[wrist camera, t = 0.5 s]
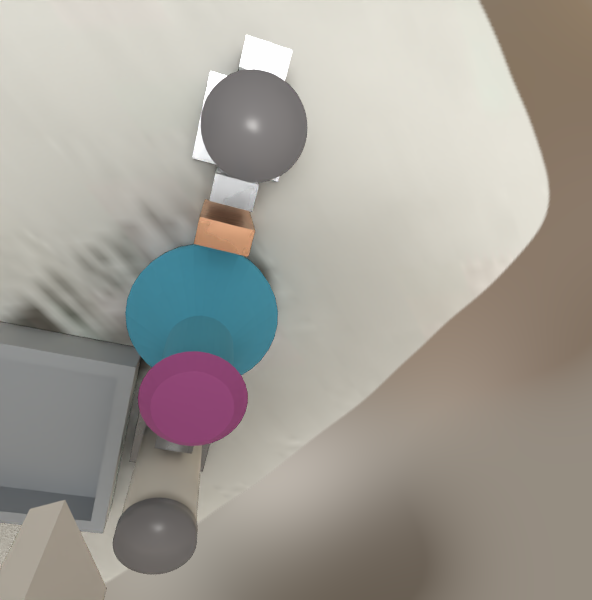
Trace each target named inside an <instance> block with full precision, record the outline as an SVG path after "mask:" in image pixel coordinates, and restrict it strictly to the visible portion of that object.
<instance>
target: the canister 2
mask: <svg viewBox="0 0 592 600" xmlns="http://www.w3.org/2000/svg"><path fill="white" fill-rule="evenodd" d="M200 128H201V135H202V140H203V143H204V146H205V148H206V150H207V152H208V154H209V156H210V157H211V159H212V160H213V162H214V163H215V164H216V165H217V166H218V167H219V168H220V169H221V170H222V171H224V172H225V173H227V174H228V175H230V176H232V177H234V178H236V179H239V180H242V181H246V182H264V181H269V180H272V179H275V178H277V177H279V176H281V175H282V174H284V173H285V172H287V171H288V170H289V169H290V168H291V167H292V166H293V165H294V164H295V162H296V161H297V160H298V158H299V156H300V155H301V153H302V150H303V148H304V145H305V141H306V137H307V119H306V113H305V110H304V107H303V104H302V102H301V100H300V98H299V96H298V95H297V93H296V92H295V91H294V89H293V88H292V87H291V86H290V85H289V84H288V83H287V82H286V81H284V80H283V79H282V78H280V77H279V76H277V75H275V74H273V73H270V72H267V71H263V70H257V69H246V70H241V71H237V72H235V73H232V74H230V75H228V76H226V77H225V78H223V79H222V80H221V81H219V82H218V83H217V84H216V85H215V86H214V88H213V89H212V90H211V91H210V93H209V95H208V96H207V98H206V100H205V103H204V105H203V109H202V113H201V123H200Z"/></svg>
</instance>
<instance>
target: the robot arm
mask: <svg viewBox="0 0 592 600" xmlns="http://www.w3.org/2000/svg"><path fill="white" fill-rule="evenodd" d="M106 589H107V588H106V586H105V584H104V581H103V579H102V577H101V575H100V573H99V571H98V569H97V567H96V564H95V562H94V560H93V558H92V556H91V554H90V552H89V550H88V547H87V545H86V543H85V541H84V539H83V537H82V535H81V533H80V530H79V528H78V526H77V524H76V522H75V520H74V518H73V515H72V513H71V511H70V509H69V507H68V505H67V503H66V501H65V500H62V501H58V502H54V503H51V504H47V505H43V506H39V507H35V508H31V509H29V512H28V514H27V516H26V518H25V520H24V522H23V524H22V526H21V528H20V530H19V532H18V534H17V536H16V538H15V540H14V542H13V544H12V546H11V548H10V550H9V552H8V554H7V556H6V558H5V560H4V562H3V564H2V566H1V568H0V600H104V597H105V593H106Z"/></svg>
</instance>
